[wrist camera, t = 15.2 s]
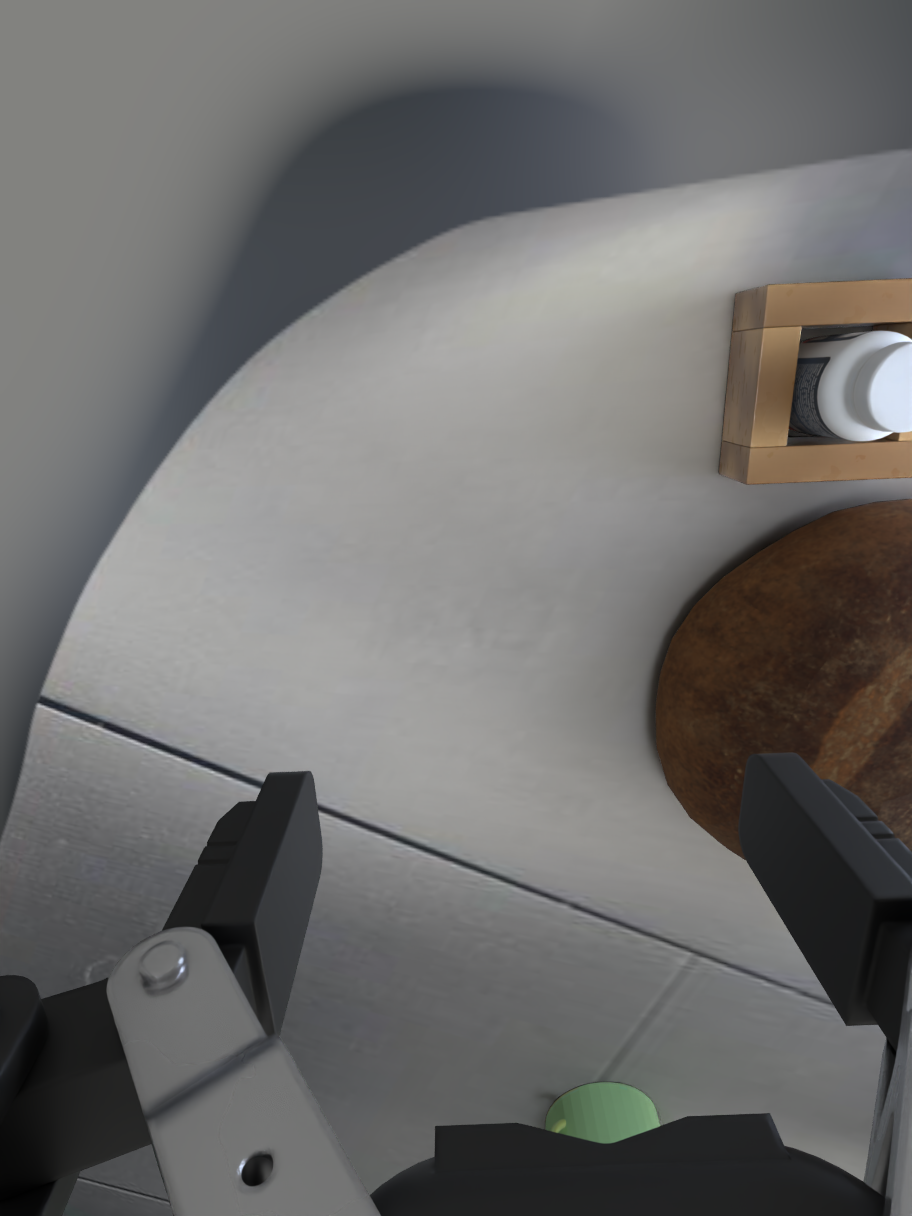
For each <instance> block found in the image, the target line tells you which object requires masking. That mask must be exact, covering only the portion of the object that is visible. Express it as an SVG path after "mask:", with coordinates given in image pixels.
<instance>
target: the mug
mask: <svg viewBox="0 0 912 1216" xmlns="http://www.w3.org/2000/svg"><path fill="white" fill-rule="evenodd" d="M545 1122H546V1130H548V1131H552V1132H556V1133H561V1134H565V1135H569V1136H573V1137H577V1138H581V1139H585V1140H589V1141H593V1142H598V1143H604V1144H605V1143H614V1142H617V1141H620V1140H623V1139H626V1138H629V1137H631V1136H634V1135H637V1134H640V1133H643V1132H645V1131H648V1130H651V1129H654V1128H657V1127H659V1126H660V1123H659V1119H658V1116H657V1112H656V1109H655V1107H654V1104H653V1103H652V1101H651V1100H650V1098H649V1097H647V1096H646V1095H645V1094H644V1093H643V1092H641V1091H639V1090H638V1089H636V1088H634V1087H631V1086H629V1085H625V1084H620V1083H613V1082H598V1083H591V1084H586V1085H583V1086H580V1087H577V1088H575V1089H572V1090H570V1091H568V1092H567V1093H565V1094H563V1095H562V1096H561V1097H559V1098H558V1099H557V1100H556V1101H555V1102H554V1103H553V1105H552V1106H551V1107H550V1109H549V1111H548V1113H547V1116H546V1121H545Z"/></svg>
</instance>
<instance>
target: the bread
mask: <svg viewBox="0 0 912 1216" xmlns="http://www.w3.org/2000/svg"><path fill="white" fill-rule="evenodd" d="M656 745H657V751H658V754H659V757H660V761H661V764H662V767H663V771H664V774H665V777H666V781H667V784H668V786H669V787H670V789H671V790H672V792H673V793H674V795H675V796H676V798H677V799H678V801H679V802H680V803H681V805H682V806H683V808H684V809H685V811H686V812H687V814H688V815H689V817H690V818H691V819H693V820H694V821H695V822H696V823H697V824H698V825H700V826H701V827H702V828H703V829H704V830H706V831H707V832H708V833H709V834H710V835H711V836H713V837H714V838H715V839H716V840H717V841H718V842H720V843H721V844H722V845H724V846H725V847H726V848H727V849H729V850H730V851H732V852H733V853H735V854H737V855H738V856H740V857H741V858H743V859H744V860H746V859H745V857H744V855H743V852H742V849H741V845H740V840H739V832H738V825H739V816H740V808H741V800H742V792H743V784H744V776H745V768H746V763H747V760H748V758H749V756H750V755H752V754H768V753H796V754H798V755H799V756H800V757H801V758H802V759H803V760H804V761H805V762H806V763H807V764H808V766H809V767H810V768H811V769H812V770H813V771H814V772H815V773H816V774H817V775H818V777H819V778H820V779H830V780H832V781H834V782H835V783H837V784H839V785H840V786H842V787H844V788H845V789H847V790H849V791H850V792H852V793H854V794H855V795H857V796H858V797H859V798H860V799H861V800H862V801H863V802H864V803H865V804H866V805H867V806H868V807H869V808H870V809H871V810H872V811H873V812H874V813H875V814H876V815H877V816H878V820H879V821H882V822H883V823H884V824H885V825H886V826H887V827H888V828H889V829H890V830H891V831H892V832H893V833H894V836H895V838H899V839H900V840H901V841H902V842H903V843H904V844H905V845H906V847H907V848H908V849H909V850H910V851H911V852H912V499H905V500H894V501H882V502H873V503H869V504H865V505H860V506H856V507H852V508H848V509H843V510H839V511H835V512H832V513H830V514H827V515H825V516H823V517H821V518H819V519H817V520H815V521H813V522H811V523H809V524H807V525H805V526H803V527H801V528H799V529H797V530H795V531H793V532H791V533H790V534H788V535H786V536H785V537H783V538H781V539H780V540H778V541H776V542H775V543H773V544H771V545H770V546H768V547H766V548H765V549H763V550H761V551H760V552H758V553H757V554H755V555H754V556H752V557H751V558H749V559H748V560H747V561H745V562H744V563H742V564H741V565H740V566H738V567H737V568H735V569H734V570H733V571H731V572H730V573H728V574H727V575H726V576H724V577H723V578H722V579H721V580H720V581H719V582H718V583H717V584H716V585H715V586H714V587H713V588H712V589H711V590H710V591H708V592H707V593H706V594H705V595H704V596H703V597H702V598H701V599H700V600H699V601H698V602H697V603H696V604H695V605H694V606H693V608H692V609H691V611H690V612H689V614H688V615H687V617H686V618H685V620H684V622H683V623H682V625H681V626H680V628H679V629H678V631H677V632H676V634H675V635H674V637H673V638H672V640H671V643H670V646H669V649H668V652H667V655H666V658H665V660H664V663H663V666H662V669H661V672H660V678H659V685H658V692H657V699H656Z"/></svg>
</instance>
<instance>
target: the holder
mask: <svg viewBox="0 0 912 1216" xmlns="http://www.w3.org/2000/svg"><path fill="white" fill-rule="evenodd" d="M858 326H873V331H892V332H897V333H900V334H902V335H905V336H907V337H908V338H910V339H911V340H912V278H906V279H883V280H860V281H837V282H815V283H792V284H769V285H765V286H761V287H758V288H754V289H750V290H747V291H743V292H739V293H736V296H735V306H734V317H733V328H732V331H733V332H732V338H731V349H730V360H729V370H728V381H727V392H726V402H725V413H724V424H723V434H722V440H723V441H722V445H721V456H720V466H719V474H720V475H723V476H726V477H728V478H731V479H734V480H736V481H739V482H741V483H744V484H747V485H749V484H773V483H796V482H820V481H843V480H867V479H890V478H912V431H910V432H902V433H897V432H893V433H891V434H889V435H887V436H885V437H883V438H880V439H876V440H871V441H850V440H844V439H837V438H831V437H825V436H818V437H794V438H788V431H789V423H790V415H791V407H792V399H793V391H794V383H795V375H796V367H797V359H798V351H799V344H800V336H801V329H812V328H835V327H858Z"/></svg>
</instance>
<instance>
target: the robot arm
mask: <svg viewBox="0 0 912 1216" xmlns="http://www.w3.org/2000/svg"><path fill="white" fill-rule="evenodd" d="M738 832H739V840H740V845H741V849H742V852H743V855H744V857H745V859H746V861H747V863H748V864H749V866H750V868H751V869H752V871H753V873H754V874H755V876H756V878H757V879H758V881H759V883H760V884H761V886H762V888H763V889H764V891H765V892H766V894H767V896H768V897H769V899H770V901H771V902H772V904H773V906H774V907H775V909H776V911H777V912H778V914H779V916H780V917H781V919H782V920H783V922H784V924H785V925H786V927H787V929H788V930H789V932H790V934H791V935H792V937H793V939H794V940H795V942H796V944H797V945H798V947H799V949H800V950H801V952H802V953H803V955H804V957H805V958H806V960H807V962H808V963H809V965H810V967H811V968H812V970H813V972H814V973H815V975H816V977H817V978H818V980H819V981H820V983H821V985H822V986H823V988H824V990H825V991H826V993H827V995H828V996H829V998H830V1000H831V1001H832V1003H833V1005H834V1006H835V1008H836V1009H837V1011H838V1013H839V1014H840V1016H841V1018H842V1019H843V1021H844V1023H845V1024H846V1026H854V1025H879V1027H880V1028H881V1030H882V1031H883V1033H884V1034H885V1036H886V1037H887V1038H886V1042H885V1046H884V1050H883V1053H882V1060H881V1067H880V1074H879V1081H878V1088H877V1095H876V1102H875V1110H874V1117H873V1124H872V1131H871V1138H870V1145H869V1152H868V1159H867V1165H866V1171H865V1177H864V1182H863V1181H861V1180H860V1179H858V1178H856V1177H854V1176H853V1175H851V1174H849V1173H848V1172H846V1171H844V1170H843V1169H841V1168H839V1167H837V1166H835V1165H833V1164H831V1163H829V1162H827V1161H825V1160H823V1159H821V1158H819V1157H816V1156H814V1155H811V1154H808V1153H805V1152H803V1151H800V1150H797V1149H794V1148H791V1147H787V1146H784V1145H783V1142H782V1140H781V1138H780V1136H779V1133H778V1131H777V1129H776V1126H775V1124H774V1122H773V1119H772V1117H771V1115H770V1113H765V1114H739V1115H713V1116H687V1117H685V1118H682V1119H679V1120H676V1121H673V1122H671V1123H668V1124H665V1125H662V1126H659V1127H657V1128H654V1129H651V1130H648V1131H645V1132H643V1133H640V1134H637V1135H634V1136H631V1137H629V1138H626V1139H623V1140H620V1141H617V1142H614V1143H605V1144H604V1143H598V1142H593V1141H589V1140H585V1139H581V1138H577V1137H573V1136H569V1135H565V1134H561V1133H556V1132H552V1131H548V1130H544V1129H540V1128H536V1127H532V1126H528V1125H524V1124H519V1123H504V1124H478V1125H452V1126H435V1157H433V1158H430V1159H428V1160H425V1161H422V1162H420V1163H417V1164H416V1165H414V1166H412V1167H410V1168H408V1169H406V1170H404V1171H402V1172H400V1173H398V1174H397V1175H396V1176H394V1177H393V1178H391V1179H390V1180H388V1181H387V1182H385V1183H384V1184H382V1185H381V1186H380V1187H379V1188H378V1189H376V1190H375V1191H374V1192H373V1193H372V1194H371V1195H369V1193H368V1192H367V1190H366V1188H365V1186H364V1185H363V1183H362V1181H361V1179H360V1177H359V1176H358V1174H357V1172H356V1170H355V1169H354V1167H353V1165H352V1163H351V1161H350V1160H349V1158H348V1156H347V1154H346V1152H345V1151H344V1149H343V1147H342V1145H341V1144H340V1142H339V1140H338V1138H337V1136H336V1135H335V1133H334V1131H333V1129H332V1128H331V1126H330V1124H329V1122H328V1120H327V1119H326V1117H325V1115H324V1113H323V1112H322V1110H321V1108H320V1106H319V1104H318V1103H317V1101H316V1099H315V1097H314V1096H313V1094H312V1092H311V1090H310V1088H309V1087H308V1085H307V1083H306V1081H305V1079H304V1078H303V1076H302V1074H301V1072H300V1071H299V1069H298V1067H297V1065H296V1063H295V1062H294V1060H293V1058H292V1056H291V1055H290V1053H289V1051H288V1049H287V1048H286V1046H285V1044H284V1043H283V1041H282V1040H281V1038H280V1037H279V1035H280V1032H281V1028H282V1024H283V1020H284V1016H285V1012H286V1008H287V1004H288V1000H289V996H290V992H291V988H292V985H293V981H294V977H295V973H296V969H297V965H298V961H299V957H300V953H301V949H302V945H303V941H304V938H305V934H306V930H307V926H308V922H309V918H310V914H311V910H312V906H313V902H314V898H315V894H316V890H317V887H318V883H319V879H320V874H321V868H322V836H321V829H320V822H319V814H318V807H317V799H316V792H315V784H314V779H313V775H312V773H311V772H310V771H299V772H274V773H269V774H268V775H267V777H266V779H265V782H264V784H263V786H262V788H261V791H260V793H259V795H258V797H257V799H256V801H247V802H238V803H237V804H236V805H235V806H234V807H233V808H232V809H231V810H230V811H229V812H227V813H226V814H225V815H224V816H223V817H222V818H221V819H220V820H219V821H218V822H217V824H216V826H215V828H214V830H213V832H212V834H211V836H210V838H209V840H208V842H207V847H205V848H204V850H203V851H202V853H201V855H200V857H199V859H198V865H195V867H194V869H193V871H192V873H191V875H190V877H189V879H188V881H187V883H186V885H185V887H184V888H183V890H182V892H181V894H180V896H179V898H178V900H177V902H176V904H175V906H174V908H173V910H172V912H171V914H170V916H169V918H168V920H167V922H166V924H165V926H164V927H163V929H162V931H161V932H158V933H156V934H153V935H151V936H149V937H147V938H145V939H144V940H142V941H140V942H139V943H138V944H136V945H135V946H133V947H132V948H131V949H130V950H129V951H127V952H126V953H125V954H124V955H123V956H122V958H121V959H120V960H119V961H118V962H117V964H116V965H115V966H114V968H113V970H112V972H111V974H110V976H109V978H106V979H104V980H102V981H99V982H96V983H93V984H90V985H87V986H83V987H80V988H77V989H73V990H70V991H67V992H63V993H60V994H57V995H54V996H50V997H47V998H44V999H41V998H40V995H39V992H38V989H37V987H36V986H35V984H34V983H33V982H32V981H31V980H29V979H28V978H25V977H23V976H16V975H6V976H0V1216H62V1215H63V1212H64V1210H65V1207H66V1205H67V1203H68V1200H69V1198H70V1195H71V1193H72V1190H73V1188H74V1185H75V1183H76V1180H77V1178H78V1176H79V1173H80V1171H82V1170H84V1169H87V1168H90V1167H92V1166H95V1165H97V1164H100V1163H103V1162H105V1161H108V1160H110V1159H113V1158H116V1157H118V1156H121V1155H124V1154H126V1153H129V1152H131V1151H134V1150H137V1149H139V1148H142V1147H145V1146H147V1145H150V1144H151V1145H152V1148H153V1151H154V1154H155V1158H156V1161H157V1164H158V1167H159V1171H160V1174H161V1177H162V1180H163V1183H164V1187H165V1190H166V1193H167V1196H168V1200H169V1203H170V1206H171V1209H172V1213H173V1216H912V852H911V851H910V850H909V849H908V848H907V847H906V845H905V844H904V843H903V842H902V841H901V840H900V839H899V838H895V836H894V833H893V832H892V831H891V830H890V829H889V828H888V827H887V826H886V825H885V824H884V823H883V822H882V821H879V820H878V816H877V815H876V814H875V813H874V812H873V811H872V810H871V809H870V808H869V807H868V806H867V805H866V804H865V803H864V802H863V801H862V800H861V799H860V798H859V797H858V796H857V795H855V794H854V793H852V792H850V791H849V790H847V789H845V788H844V787H842V786H840V785H839V784H837V783H835V782H834V781H832V780H830V779H820V778H819V777H818V775H817V774H816V773H815V772H814V771H813V770H812V769H811V768H810V767H809V766H808V764H807V763H806V762H805V761H804V760H803V759H802V758H801V757H800V756H799V755H798V754H796V753H768V754H752V755H750V756H749V758H748V760H747V763H746V768H745V776H744V784H743V792H742V800H741V808H740V816H739V825H738Z"/></svg>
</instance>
